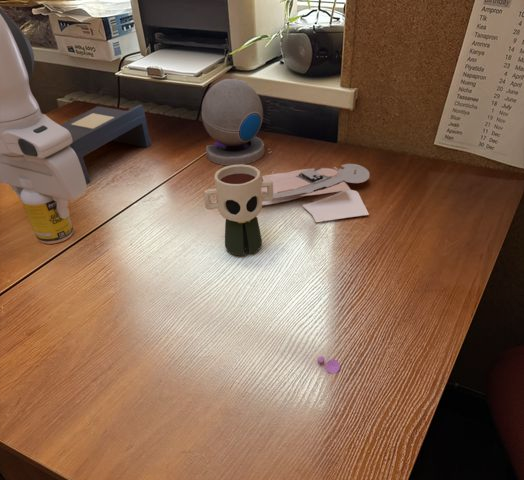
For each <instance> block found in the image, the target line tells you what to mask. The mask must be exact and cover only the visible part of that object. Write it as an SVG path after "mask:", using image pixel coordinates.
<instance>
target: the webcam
mask: <svg viewBox="0 0 524 480" xmlns="http://www.w3.org/2000/svg"><path fill="white" fill-rule="evenodd" d="M201 103H202V104H201V119H202V123H203V127H204V128H205V130H206V132H207V134H208V135H209V136H210V137H211V139H213V140H214V141H216V142H214V143H213V144H212V145H207V146H206V148H205V151H206V152H205V153H206V158H207V160H209V161H210V162H211V163H214V164H217V165H222V166H231V165H240V164H243V165H248V164H250V163H253V162H256V161H257V160H259V159H261V158H262V157H263V156H264V155H265V144H264V141H263V140H262V139H261V138H260V137H259V136H258V137H257V136H256V135H257V134H258V133H259V131H260V129H261V127H262V123H263V119H264V108H263V103H262V101H261V97H260V96H259V94H258V92H256V90H255V88H253V86H251V85H250V84H249V83H247V82H245V81H243V80H241V79H238V78H224V79H222V80H220V81H218V82H216V83H214V84H213V85H212V86H210V87H209V89H208V90H207V91H206V93H205V95H204V97H203V100H202V102H201Z"/></svg>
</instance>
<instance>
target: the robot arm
mask: <svg viewBox="0 0 524 480" xmlns="http://www.w3.org/2000/svg"><path fill="white" fill-rule="evenodd" d="M34 70H35V53H34V50H33V46H32V44H31V41H30V40H29V38H28V37H27V35H26V34H25V32H24V31H23V30H22V28H20V27H19V26H18V25H17V24H16V22H14V21H13V19H11V18H10V17H9V16H8V15H7V14H6V12H4V10H3V9H1V8H0V183H2V184H5V185H9V186H10V187H11V189H12V191H13V192H14V193H15V194H16V195H17V196H18V198H19V199H20V200H21V197H20V195H21V191H22V190H23V189H24V187H22V185H21V183H20V181H19V177H20V178H24V179H28V180H31V183H32V185H33V188H32V189H33V190H34V191H35V192H38V193H41V194H45V195H49V196H52V197H53V200H54V201H57V207H55V208H54V212H55V213H56V216H57V217H59V218H62V219H65V218H66V217H68V216H69V217H70V213H71V212H70V210H69V207H68V205H69V202H74V201H76V200H78V199H79V198H80V197H82V196H84V195H85V194H86V192H87V189H88V187H87V185H88V184H87V185H86V181H85V177H84V174H83V171H82V168H81V165H80V162H79V159H78V157H77V155H76V153H75V152H74V150H73V149H72V148H71V147H70V146H68V145H70V144H71V143H72V142H73V140H72V136H71V134H70V132H69V131H68V130H67V129H66V128H64V127H62V126H60V125H61V124H59V123H57V122H56V121H54V120H52V119H51V118H50V117H49V116H48V115H46V114H44V113H42V111H41V108H40V104H39V103H38V101H37V99H36V98H35V96H34V95H33V92H32V90H31V86H30V82H31V80H32V78H33V74H34Z"/></svg>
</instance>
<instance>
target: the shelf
mask: <svg viewBox="0 0 524 480" xmlns="http://www.w3.org/2000/svg"><path fill="white" fill-rule="evenodd" d="M59 125H60V126H62V127H64V128H66V129H67V130H68V131H69V132H70V134H71V136H72V140H73V142H72V143H71V144H70V145H68V146H70V147H71V148H72V149H73V150H74V152H75V153H76V155H77V157H78V159H79V162H80V165H81V168H82V171H83V174H84V177H85V181H86V185H89V184H90V183H91V180H90V176H89V173H88V170H87V166H86V164H85V163H86V162H85V160H84V157H85V156H86V155H88V154H90V153H91V152H94V151H95V150H97V149H99V148H100V147H103V146H104V145H106V144H108V143H109V142H112V141H113V142H119V143H124V144H128V145H133V146H137V147H141V148H142V147H143V148H149V147H151V145H152V142H151V138H150V133H149V128H148V123H147V118H146V113H145V109H144V105H143V104H141V103H140V104H137V105H135V106H133V107H131V108H129V109H128V110H123V109H118V108H111V107H107V106H106V107H105V106H100V105H99V106H98V105H97V106H96V107H94V108H92V109H90V110H88V111H86V112H84V113H81V114H79V115H78V116H75V117H73V118H71V119H70V120H67V121H65V122H63V123H61V124H59Z"/></svg>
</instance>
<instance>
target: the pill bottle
mask: <svg viewBox="0 0 524 480" xmlns="http://www.w3.org/2000/svg"><path fill="white" fill-rule="evenodd" d="M19 181H20V183H21V185H22V187H24V189H23V190H22V191H21V195H20V197H21V199H20V200H21V203H22V205H23V209H24V211H25V213H26V215H27V217H28V220H29V222H30V225H31V227H32V229H33V232H34V234H35V237H36V239H37V240H38V241H39V242H40V243H43V244H48V245H50V244H51V245H52V244H59V243H61V242H64V241H67V240H68V239H69V238H70V237H71V236H72V235H73V233H74V226H73V224H72V220H71V218H70V215H69V216H68V217H66V218H65V219H62V218H59V217H57V216H56V213H55V212H54V208H55V207H57V201H54V200H53V197H52V196H49V195H45V194H41V193H38V192H35V191H34V190H33V189H32V188H33V185H32V183H31V180H28V179H24V178H20V177H19Z"/></svg>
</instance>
